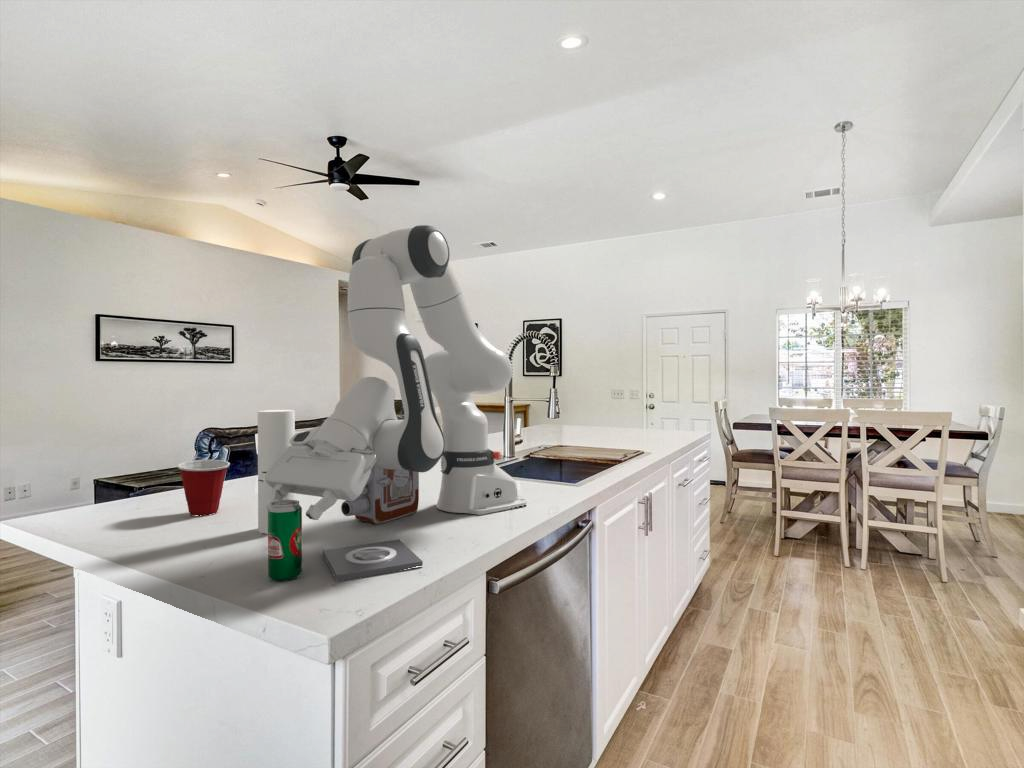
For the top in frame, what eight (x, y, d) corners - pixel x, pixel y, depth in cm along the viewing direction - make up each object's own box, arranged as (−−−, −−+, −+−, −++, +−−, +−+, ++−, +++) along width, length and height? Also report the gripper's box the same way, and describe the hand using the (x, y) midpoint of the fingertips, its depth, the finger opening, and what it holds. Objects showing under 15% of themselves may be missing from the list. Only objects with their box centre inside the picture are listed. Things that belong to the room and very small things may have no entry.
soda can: (262, 577, 87) (262, 502, 87) (293, 569, 91) (292, 497, 90) (276, 585, 84) (276, 508, 83) (307, 576, 87) (307, 502, 87)
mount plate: (399, 544, 104) (399, 538, 104) (422, 567, 92) (422, 560, 92) (323, 555, 97) (323, 548, 97) (336, 581, 85) (336, 574, 85)
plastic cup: (193, 522, 120) (192, 467, 119) (167, 515, 125) (167, 463, 125) (240, 511, 129) (239, 461, 129) (214, 505, 134) (214, 457, 134)
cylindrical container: (281, 535, 110) (281, 412, 110) (250, 533, 111) (249, 411, 111) (302, 525, 117) (301, 410, 117) (272, 523, 118) (272, 409, 118)
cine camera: (329, 526, 117) (329, 433, 116) (395, 507, 133) (395, 426, 132) (358, 533, 111) (358, 436, 111) (423, 513, 128) (423, 428, 127)
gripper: (389, 462, 93) (347, 532, 85) (307, 455, 103) (261, 518, 95) (371, 439, 90) (325, 510, 81) (287, 434, 99) (238, 497, 91)
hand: (290, 514), depth 88 cm, fingers open, 8 cm apart
